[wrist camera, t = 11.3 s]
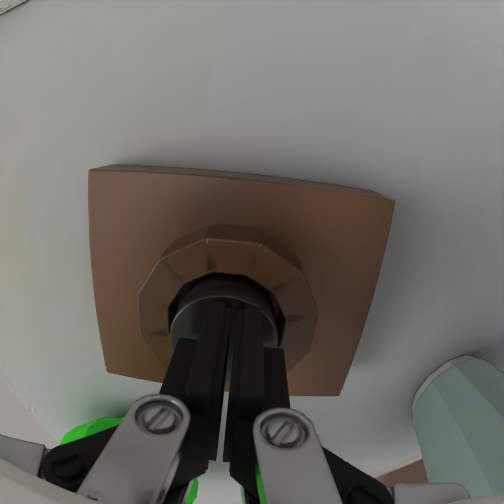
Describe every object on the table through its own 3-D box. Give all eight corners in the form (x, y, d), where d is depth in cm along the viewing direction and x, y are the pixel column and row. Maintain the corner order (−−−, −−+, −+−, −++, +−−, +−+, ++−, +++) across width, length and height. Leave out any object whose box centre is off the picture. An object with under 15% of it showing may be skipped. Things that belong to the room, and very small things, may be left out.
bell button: (281, 278, 11) (286, 301, 10) (267, 357, 12) (269, 386, 11) (180, 267, 11) (168, 289, 9) (180, 348, 12) (171, 376, 11)
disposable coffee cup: (363, 439, 19) (409, 611, 5) (421, 320, 16) (561, 538, 2) (464, 423, 20) (527, 546, 6) (522, 320, 16) (635, 444, 2)
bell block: (375, 191, 13) (416, 210, 10) (330, 369, 17) (346, 420, 13) (111, 164, 13) (65, 174, 9) (120, 347, 16) (94, 393, 12)
